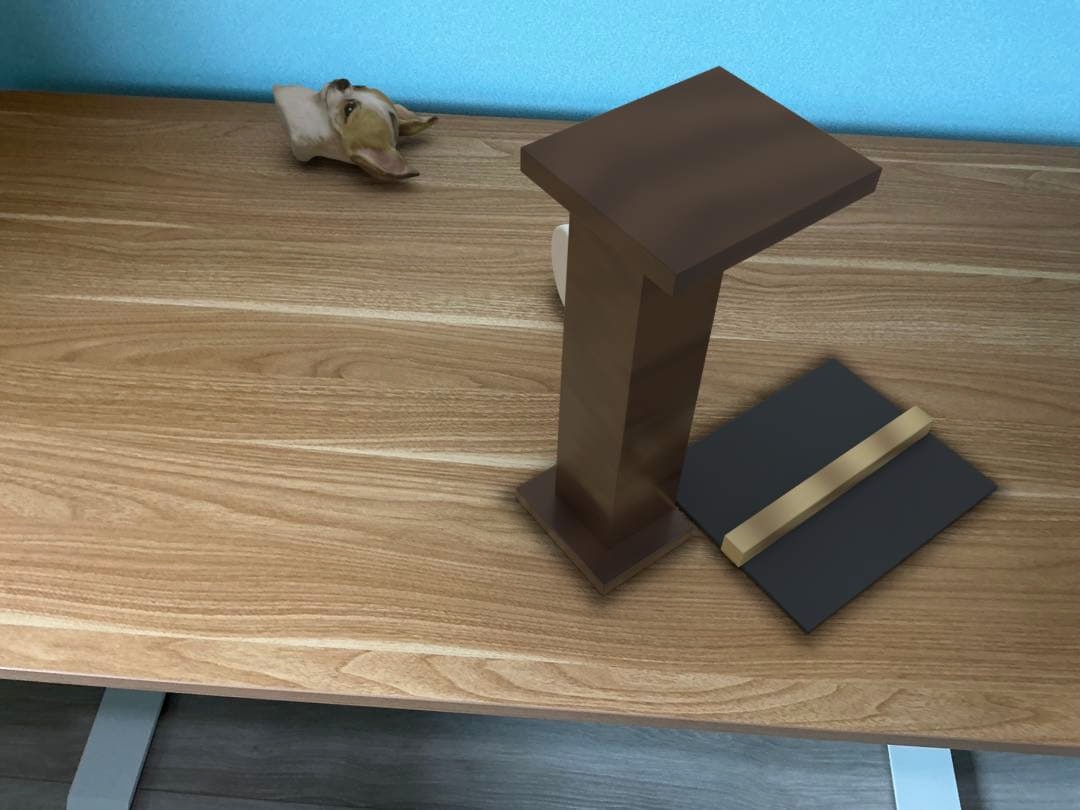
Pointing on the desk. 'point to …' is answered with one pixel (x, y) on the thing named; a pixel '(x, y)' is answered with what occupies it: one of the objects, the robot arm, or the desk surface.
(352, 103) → the ceramic sculpture
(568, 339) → the stand
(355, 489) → the desk surface
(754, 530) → the wooden stick
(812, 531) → the mat
